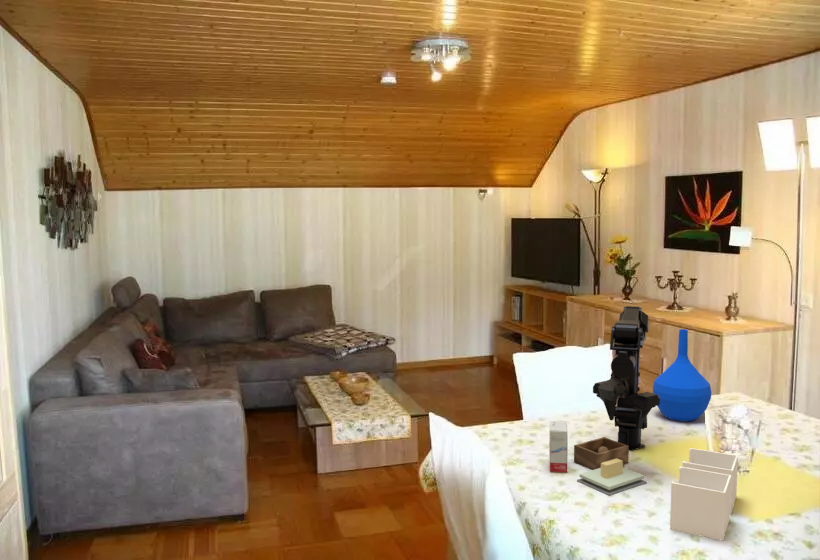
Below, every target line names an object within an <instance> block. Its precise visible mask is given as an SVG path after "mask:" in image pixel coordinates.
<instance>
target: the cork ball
mask: <svg viewBox="0 0 820 560" xmlns="http://www.w3.org/2000/svg"><path fill="white" fill-rule="evenodd" d="M605 451H608V449H607V448H606V447H604V446H602V447H600V448H599V449H598V453H601V452H605Z"/></svg>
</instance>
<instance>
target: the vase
mask: <svg viewBox="0 0 820 560" xmlns="http://www.w3.org/2000/svg"><path fill="white" fill-rule="evenodd" d="M688 335H689V334H688V329H683V328H681V329H679V330H678V347H677V349H678V350H677V356H676V358H675V360H674V361H673V362H672V363H671V365H669V367H667V368H666V369H665V370H664V371H663V372H662V373H661V374H659V375H658V376H657V377H656V378H655V379H654V381H653V385H652V393H653V394H657V395H658V396H659V397H660V405H658V406H657V408H658V410H659V411H660V412H661V413H662V414H663V416H665V418H667V419H669V420H673V421H677V422H693V421H696V420H697V419H699V418H701V417H702V415H704V413H705V411H706V410H707V408H708V406H709V404H710V402H711V399H712V388H711V384H710V382H709V381H708V380H707V379H706V378H705V377H704V376H703V375H702V374H701V372H699V371H698V370H697V368H696V367H695V366H694V365H693V364H692V362H691V361H690V359H689V355H688V354H689V353H688V352H689V351H688V350H689V349H688V345H689V343H688V342H689V340H688V338H689V336H688Z"/></svg>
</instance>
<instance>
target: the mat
mask: <svg viewBox="0 0 820 560" xmlns="http://www.w3.org/2000/svg"><path fill="white" fill-rule="evenodd" d="M576 482H578V483H580V484H582V485H584V486H587V487H588V488H590V489H593V490H596V491H598V492H600V493H602V494H604V495H606V496H608V497H610V496H613V495H615V494H619V493H622V492H625V491H627V490H631V489H634V488H637V487H640V486H642V485H645V484H648V482H647V480H645V479H641V480H638V481H635V482H632V483H629V484H626V485H623V486H620V487H617V488H614V489H611V490H607V489H605V488H603V487H601V486H598V485H596V484H594V483H592V482H589V481H587V480H585V479H583V478H578V479H576Z"/></svg>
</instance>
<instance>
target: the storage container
mask: <svg viewBox="0 0 820 560" xmlns="http://www.w3.org/2000/svg"><path fill="white" fill-rule="evenodd" d="M688 452H689V453H688V455H689V456H688V462H687V461H685V460H683V461H682V466H679V468H678V482H675V481H674V480H672V481H671V485H670V486H671V488H670V511H669V512H670V513H669V515H670V518H669V529H670V530H672V531H676V532H681V533H685V534H691V535H696V536H699V535H701V536H700V537H704V536H706V538H708V537H710V538H709V539H713V538H716V539H715V540H718V539H721V540H720V541H722V540H723V541H724V539H725V537H724V536H725V535H726V534H725V533H727V530H728V527H729V524H728V523H730V519H731V518H730V516H731V515H732V514H731V513H733V510H732V509H734V507H733V506H735V504H734V502H735V503H736V500H735V499H737V493H738V492H737V489H738V488H737V486H738V485H737V484H738V465H739V463H738V462H739V455H737V454H730V453H724V452H718V451H712V450H708V449H707V450H705V449H700V448H699V449H698V448H695V447H694V448H692V447H690V448H689V451H688ZM730 514H731V515H730ZM727 526H728V527H727ZM726 529H727V530H726Z"/></svg>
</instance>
